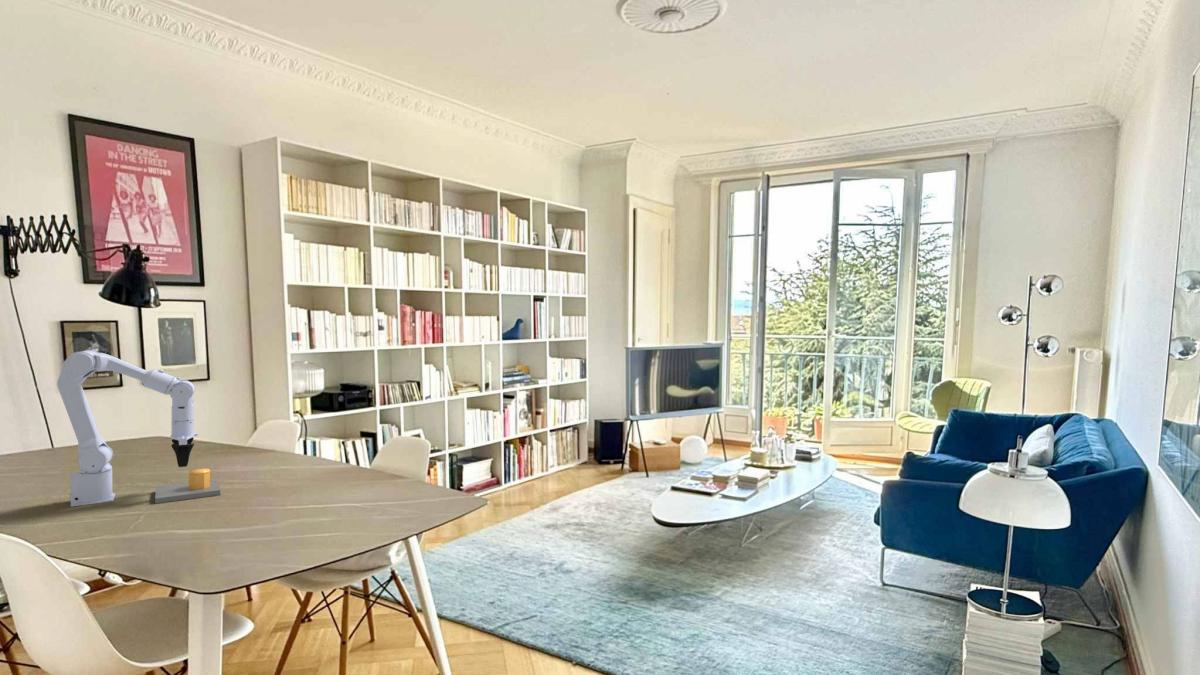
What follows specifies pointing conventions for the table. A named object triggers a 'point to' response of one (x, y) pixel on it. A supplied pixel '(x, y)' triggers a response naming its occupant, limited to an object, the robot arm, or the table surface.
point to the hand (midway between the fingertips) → (182, 463)
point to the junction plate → (184, 492)
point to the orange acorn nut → (199, 479)
